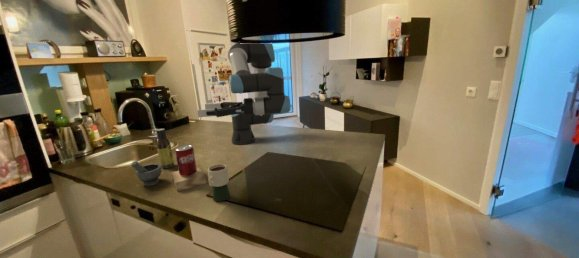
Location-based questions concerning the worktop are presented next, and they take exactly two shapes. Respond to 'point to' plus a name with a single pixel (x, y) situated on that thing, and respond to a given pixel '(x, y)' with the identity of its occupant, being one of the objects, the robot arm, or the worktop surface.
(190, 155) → the soda can
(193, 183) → the oak block
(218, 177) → the character mug
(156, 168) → the mortar and pestle
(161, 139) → the sauce bottle
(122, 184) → the worktop surface
